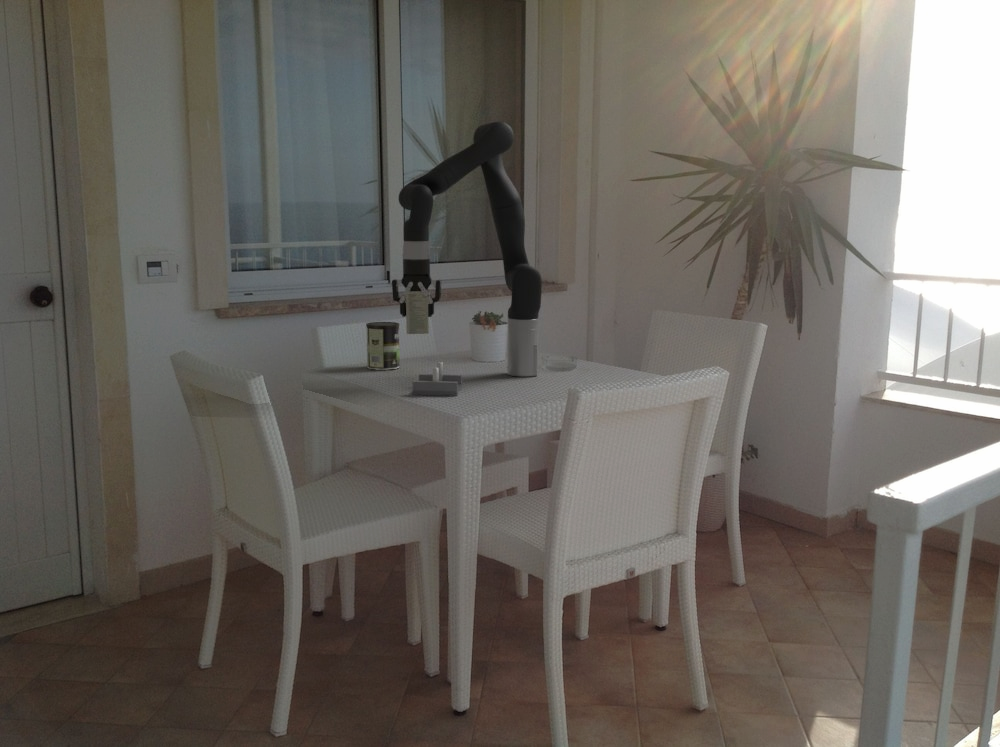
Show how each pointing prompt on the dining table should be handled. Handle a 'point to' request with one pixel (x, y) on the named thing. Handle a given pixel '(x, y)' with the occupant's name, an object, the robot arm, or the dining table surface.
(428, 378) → the tray
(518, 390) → the dining table surface
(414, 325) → the skincare box
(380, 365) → the coffee can
